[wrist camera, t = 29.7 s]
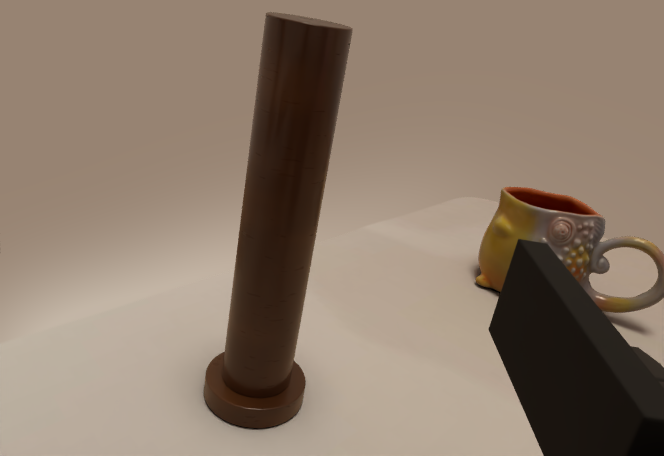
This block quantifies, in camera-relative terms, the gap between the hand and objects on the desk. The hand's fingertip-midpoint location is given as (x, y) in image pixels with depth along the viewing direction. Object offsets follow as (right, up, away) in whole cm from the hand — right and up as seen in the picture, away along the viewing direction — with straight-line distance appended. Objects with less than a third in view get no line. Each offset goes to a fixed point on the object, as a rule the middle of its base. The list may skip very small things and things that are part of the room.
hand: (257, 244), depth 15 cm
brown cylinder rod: (-2, -7, +11) cm, 13 cm away
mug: (+17, -5, +26) cm, 31 cm away
